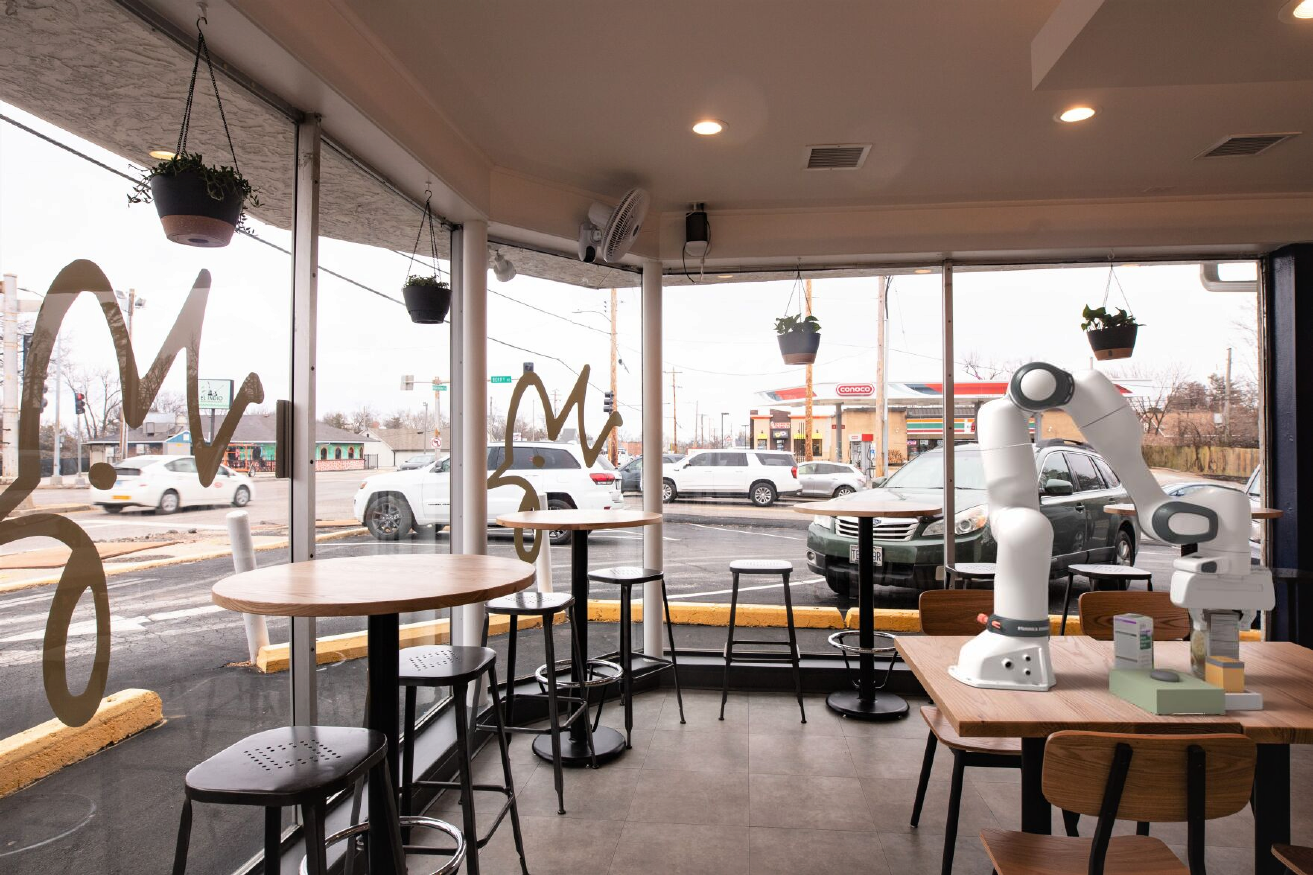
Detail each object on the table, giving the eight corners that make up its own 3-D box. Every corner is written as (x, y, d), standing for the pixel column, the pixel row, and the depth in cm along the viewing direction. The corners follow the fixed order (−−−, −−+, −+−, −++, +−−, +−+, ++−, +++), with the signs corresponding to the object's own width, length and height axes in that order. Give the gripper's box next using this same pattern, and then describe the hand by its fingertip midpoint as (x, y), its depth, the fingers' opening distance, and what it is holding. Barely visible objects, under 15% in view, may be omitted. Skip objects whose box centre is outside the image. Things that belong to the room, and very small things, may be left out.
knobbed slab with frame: (1156, 715, 145) (1156, 684, 145) (1109, 692, 159) (1109, 664, 159) (1274, 714, 147) (1274, 683, 147) (1217, 691, 161) (1217, 664, 161)
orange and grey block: (1223, 706, 151) (1222, 662, 151) (1205, 699, 156) (1205, 656, 156) (1244, 706, 151) (1244, 662, 151) (1226, 699, 156) (1225, 656, 156)
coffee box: (1188, 671, 176) (1188, 603, 177) (1219, 673, 175) (1218, 605, 175) (1209, 683, 167) (1208, 611, 168) (1241, 685, 166) (1241, 613, 166)
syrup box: (1140, 684, 165) (1139, 619, 165) (1113, 677, 170) (1113, 614, 171) (1154, 681, 168) (1154, 617, 168) (1128, 674, 173) (1127, 612, 173)
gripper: (1258, 562, 158) (1256, 628, 158) (1165, 559, 157) (1164, 625, 157) (1284, 567, 152) (1283, 635, 151) (1188, 564, 150) (1187, 632, 150)
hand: (1221, 630), depth 154 cm, fingers open, 8 cm apart
